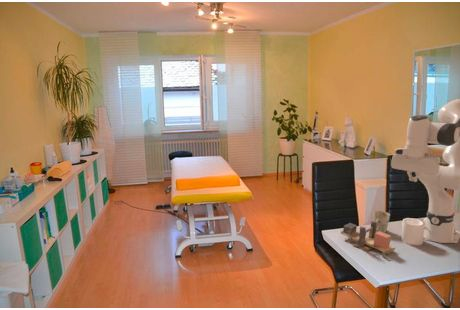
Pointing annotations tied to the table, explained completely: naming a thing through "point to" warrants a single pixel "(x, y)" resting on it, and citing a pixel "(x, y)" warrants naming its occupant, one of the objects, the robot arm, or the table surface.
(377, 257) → the table surface
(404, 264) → the table surface
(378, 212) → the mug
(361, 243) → the stand
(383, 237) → the salmon red rectangular block
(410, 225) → the mug
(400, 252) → the table surface
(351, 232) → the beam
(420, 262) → the table surface
